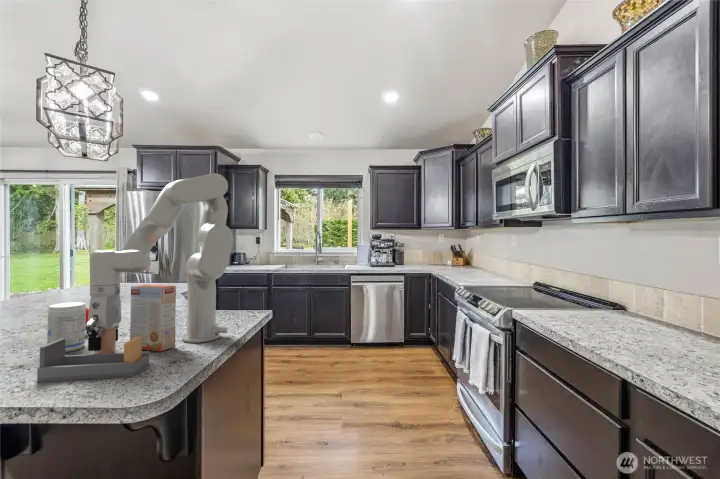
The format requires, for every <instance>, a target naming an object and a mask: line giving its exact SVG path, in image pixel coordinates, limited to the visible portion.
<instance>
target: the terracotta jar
mask: <svg viewBox="0 0 720 479" xmlns="http://www.w3.org/2000/svg"><path fill="white" fill-rule="evenodd" d="M116 326H117V322H116V323H114V324H113V325H112V327H110V328H108V329H104V328H103V330H102V332H101V334H100V337H101V350H99V351H93V354H108V353H116V342H117V341H116ZM95 327H96V326H95ZM97 327H99V326H97ZM95 331H96V332H97V331H98V330H95Z"/></svg>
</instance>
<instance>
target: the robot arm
mask: <svg viewBox="0 0 720 479" xmlns="http://www.w3.org/2000/svg"><path fill="white" fill-rule="evenodd" d="M228 189H229V183H228V180H227V179H226V177H225V176H223V175H222V174H219V173H216V172H215V173H208V174H204V175H199V176H194V177H189V178H182V179H177V180H175V181H172V182H169V183H167V185H165V186H164V188H162V190H161V192H160V193H159V194H158V197H157V198H156V200H155V201H154V203H153V204H152V206H151V208H150V209H149V211H148V212H147V214H146V215H145V217H144V218H143V220H141V222H140V224H139V225H138V227H137V228H136V229H135V230H134V231H133V233H131V236H129V239H128V240H127V241H126V243H125V245H124V246H123V247H122V249H121V251H118V250H107V249H106V250H104V249H103V250H102V249H101V250H95V251H92V252H91V254H90V269H89V271H90V272H89V274H90V275H89V297H90V299H89V300H90V301H89V305H88V309H89V315H88V323H87V324H86V326H85V327H86V332H85V334H86V335H87V351H88V352H94V351H99V350H101V337H100V334H101V332H102V330H103V328H104V329H108V328H110V327H112V325H113V324H114V323H116V322H117V326H116V342H118V339H119V327H120V325H119V324H120V323H121V321H122V304H121V302H122V301H121V295H120V293H121V273H124V274H125V273H126V274H127V273H128V274H140V273H141V274H142V273H143V272H146V271H147V270H148V269H149V268H150V266H151V264H152V259H151V257H150V255H149V253H150V251H151V250H152V248H153V247H154V245H155V244H156V243H157V242H158V241H159V240H161V239H162V238H163V237H164V236H166V235H167V234H168V233H170V231H171V230H172V228H173V226H174V225H175V223H176V221H177V220H178V218H179V216H180V214H181V213H182V211H183V210H184V208H185V207H186V206H187V205H192V204H197V203H201V204H202V206H203V211H202V216H201V221H200V224H199V228H198V230H197V233H196V234H197V235H196V243H197V245H199V247H201V248H202V251H201V252H195V253H194V254H192V255H190V257H188V259H187V261H186V265H185V273H186V281H187V306H186V307H187V312H186V313H187V314H186V315H187V316H186V317H187V320H186V322H187V324H186V325H187V326H186V328H187V329H186V331H187V332H186V334H184V335H183V336H182V341H183V342H185V343H189V344H191V343H192V344H194V343H196V344H197V343H205V342H211V341H214V340H218V339H219V338H220V336H221V334H227V333H228V332H229V328H228V327H226V326H221V327H220V326H219V323H216V321H217V320H216V319H217V316H216V315H217V312H216V311H217V310H216V309H217V305H216V304H217V285H216V284H217V283H216V280H217V279H219V278H221V277H222V276H223V274H224V273H225V271H226V268H227V266H228V261H229V259H230V255H231V251H232V250H231V249H232V248H233V241H234V236H233V233H232V230H231V228H230V227H229V226H227V225H226V224H227V219H228V212H229V210H228V208H229V207H228V204H227V200H226V199H225V197H224V195H225V194H226V193H227V192H228ZM95 326H96V327H95ZM97 326H99V327H97ZM95 330H98V331H97V332H96V331H95Z"/></svg>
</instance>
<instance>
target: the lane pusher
mask: <svg viewBox="0 0 720 479" xmlns="http://www.w3.org/2000/svg"><path fill="white" fill-rule="evenodd" d="M142 352H143V349H142V336H141V337H135V338H133V339H131V340H130V339H129V340H128V341H126V342H125V343H124V344H123V353H124V362H135V363H136V362H137V361H138V360H140V359H141V358H142Z"/></svg>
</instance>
